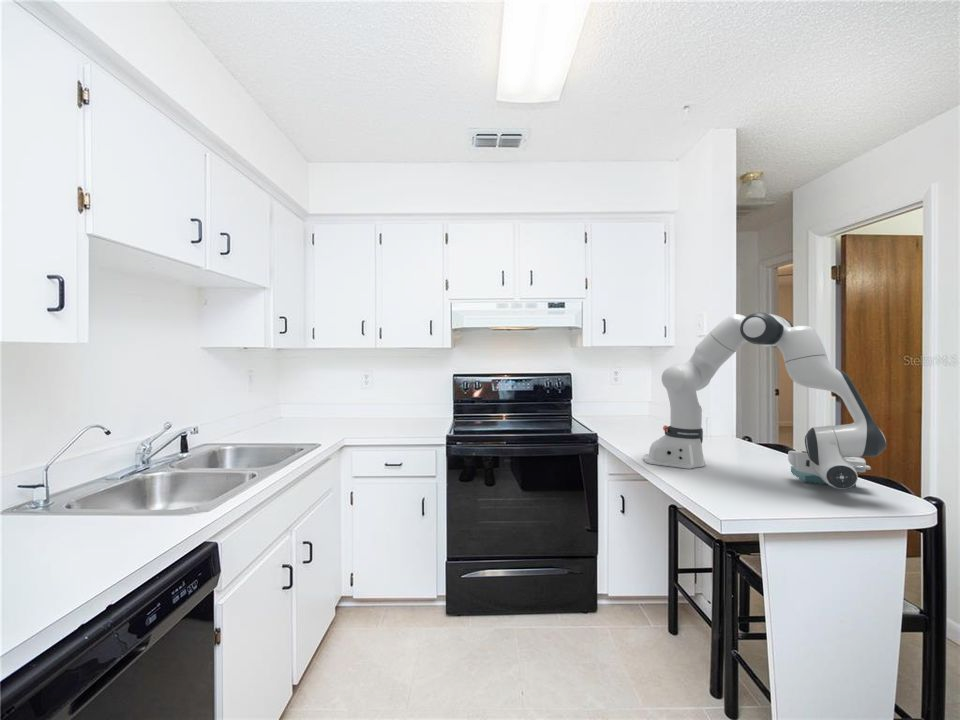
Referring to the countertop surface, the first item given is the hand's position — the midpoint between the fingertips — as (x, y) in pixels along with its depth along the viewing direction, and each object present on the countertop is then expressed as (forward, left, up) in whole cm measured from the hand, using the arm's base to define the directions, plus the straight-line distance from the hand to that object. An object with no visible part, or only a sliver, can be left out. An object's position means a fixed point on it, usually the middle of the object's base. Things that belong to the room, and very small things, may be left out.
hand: (821, 456), depth 151 cm
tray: (0, -1, -8) cm, 8 cm away
